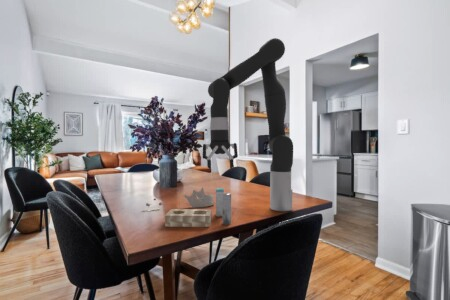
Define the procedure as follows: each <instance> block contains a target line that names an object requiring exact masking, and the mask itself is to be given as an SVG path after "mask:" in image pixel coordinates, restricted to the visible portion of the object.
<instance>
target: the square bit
mask: <svg viewBox="0 0 450 300" xmlns="http://www.w3.org/2000/svg"><path fill="white" fill-rule="evenodd" d="M223 193H225V187H216V188H215V217H223Z"/></svg>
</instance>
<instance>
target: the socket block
mask: <svg viewBox="0 0 450 300" xmlns="http://www.w3.org/2000/svg"><path fill="white" fill-rule="evenodd" d="M212 213H213V212H212V209H206V208H205V209H202V208H201V209H199V208H198V209H197V208H194V209H188V208H186V209H182V208H177V209H176V208H175V209H174V208H173V209H170V210H169V211H168V212H167V213H166V214H165V215H164V222H165V223H164V227H169V228H170V227H171V228H174V227H175V228H176V227H177V228H178V227H180V228H187V227H188V228H192V227H193V228H200V227H201V228H206V227H207V228H210V227H211V224H212V220H213V218H212V215H213V214H212Z"/></svg>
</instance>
